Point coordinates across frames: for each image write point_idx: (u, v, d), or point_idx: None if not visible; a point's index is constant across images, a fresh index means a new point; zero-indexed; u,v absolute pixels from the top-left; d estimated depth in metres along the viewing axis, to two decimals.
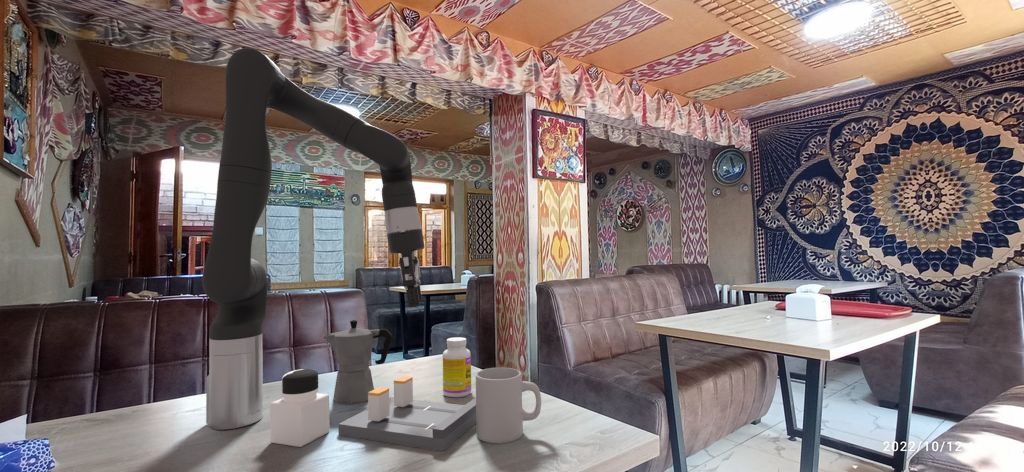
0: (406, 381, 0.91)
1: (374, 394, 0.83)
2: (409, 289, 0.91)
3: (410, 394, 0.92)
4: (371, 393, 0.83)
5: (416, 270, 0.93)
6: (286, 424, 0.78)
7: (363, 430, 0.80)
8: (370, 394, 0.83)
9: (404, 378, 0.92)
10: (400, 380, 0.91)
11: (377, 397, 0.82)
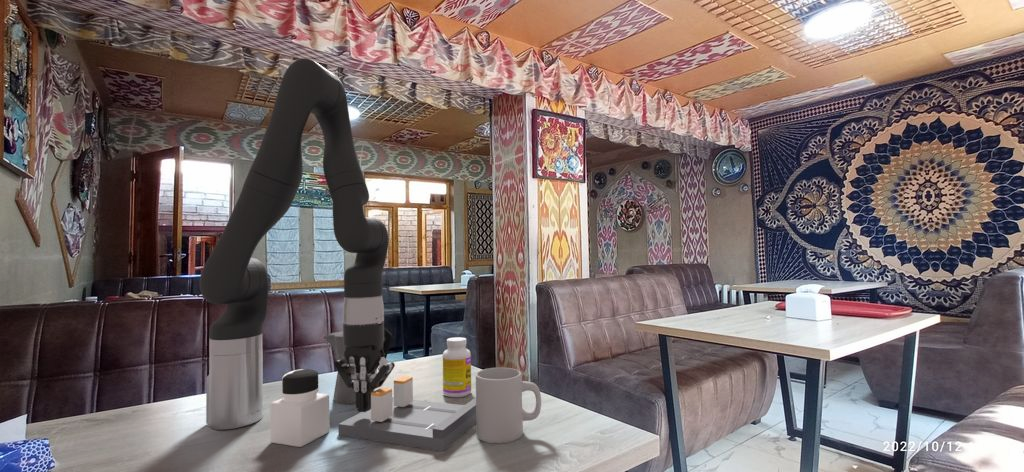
0: (406, 381, 0.91)
1: (377, 394, 0.82)
2: (369, 392, 0.85)
3: (410, 394, 0.92)
4: (374, 393, 0.83)
5: (376, 370, 0.86)
6: (286, 424, 0.78)
7: (363, 430, 0.80)
8: (373, 394, 0.83)
9: (404, 378, 0.92)
10: (400, 380, 0.91)
11: (380, 397, 0.82)
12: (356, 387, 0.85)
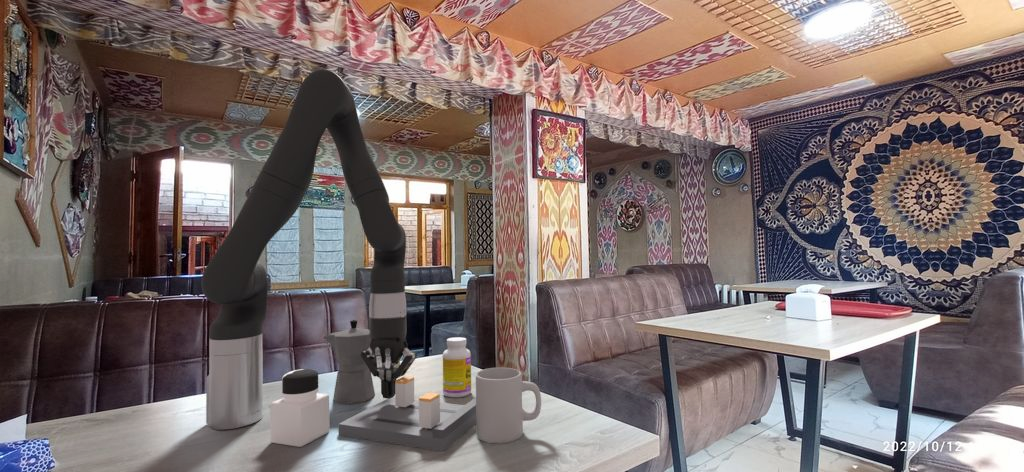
0: (408, 381, 0.91)
1: (426, 400, 0.79)
2: (393, 380, 0.92)
3: (412, 394, 0.92)
4: (422, 399, 0.79)
5: (399, 360, 0.94)
6: (286, 424, 0.78)
7: (363, 430, 0.80)
8: (421, 400, 0.79)
9: (406, 378, 0.92)
10: (402, 380, 0.90)
11: (429, 403, 0.78)
12: (381, 375, 0.92)
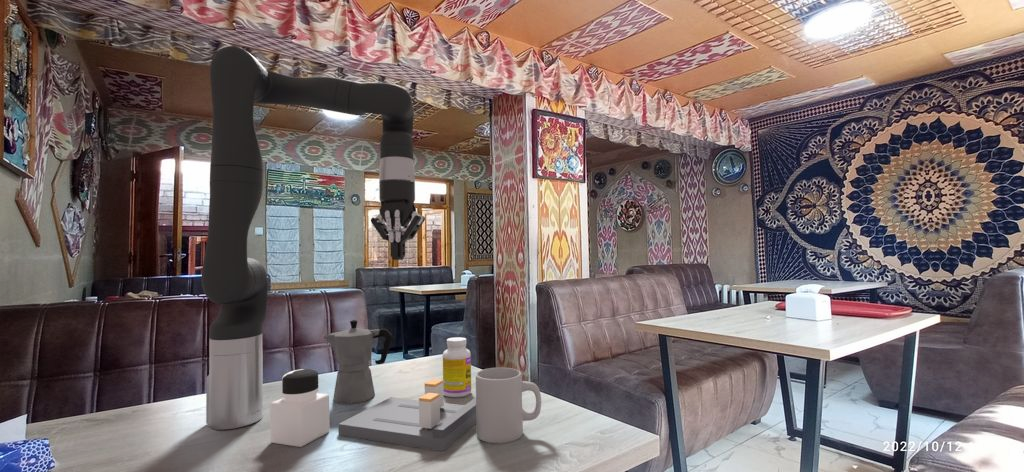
0: (437, 384, 0.88)
1: (426, 400, 0.79)
2: (402, 242, 0.96)
3: (441, 397, 0.89)
4: (422, 399, 0.79)
5: (408, 225, 0.97)
6: (286, 424, 0.78)
7: (363, 430, 0.80)
8: (421, 400, 0.79)
9: (435, 381, 0.89)
10: (431, 383, 0.88)
11: (429, 403, 0.78)
12: (391, 238, 0.96)
